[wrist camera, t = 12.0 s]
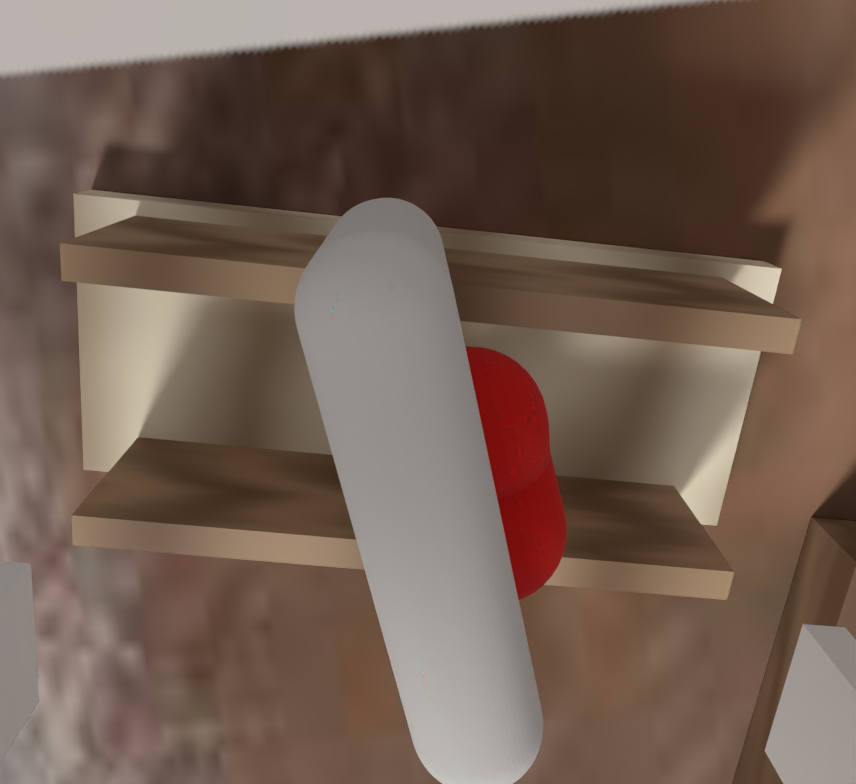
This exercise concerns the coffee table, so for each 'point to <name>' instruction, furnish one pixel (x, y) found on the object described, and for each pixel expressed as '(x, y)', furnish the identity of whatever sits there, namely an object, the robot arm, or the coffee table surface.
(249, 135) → the coffee table surface
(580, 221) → the coffee table surface
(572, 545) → the ledge
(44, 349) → the coffee table surface
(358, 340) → the icon
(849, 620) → the wooden tray
